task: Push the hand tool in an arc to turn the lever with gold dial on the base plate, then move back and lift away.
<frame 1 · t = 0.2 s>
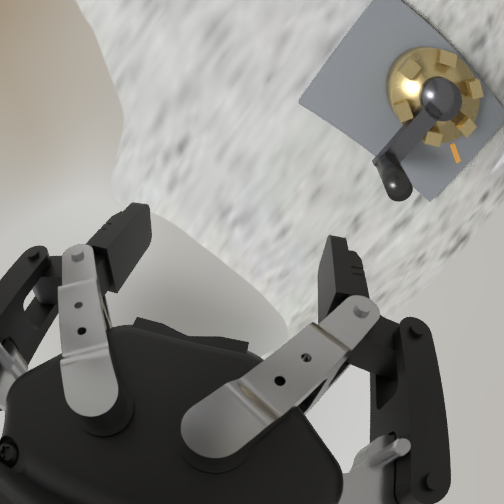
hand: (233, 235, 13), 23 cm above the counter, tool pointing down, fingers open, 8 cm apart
base plate: (413, 100, 26), on the counter
lever with gold dial: (430, 121, 22), point 6 cm above the counter, hinge at 0.0°
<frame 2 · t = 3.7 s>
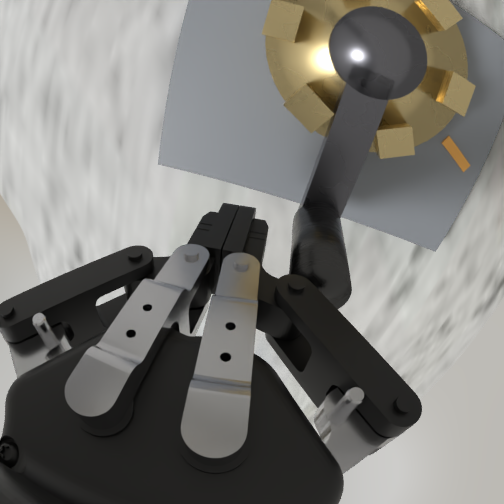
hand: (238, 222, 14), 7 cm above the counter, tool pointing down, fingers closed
base plate: (349, 83, 15), on the counter
lever with gold dial: (366, 106, 11), point 6 cm above the counter, hinge at 0.2°, touching gripper
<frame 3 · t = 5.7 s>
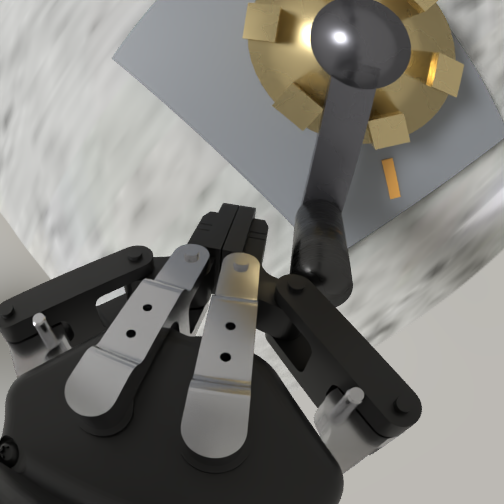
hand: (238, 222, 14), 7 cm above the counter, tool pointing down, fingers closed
base plate: (321, 66, 15), on the counter
lever with gold dial: (353, 97, 11), point 6 cm above the counter, hinge at 36.9°, touching gripper
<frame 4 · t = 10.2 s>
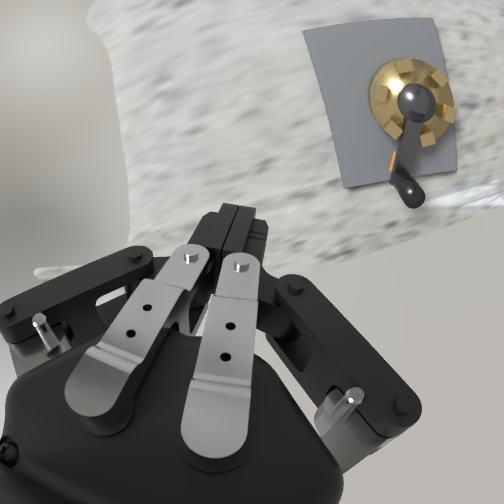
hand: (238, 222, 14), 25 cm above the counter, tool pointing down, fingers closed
base plate: (388, 99, 30), on the counter
lever with gold dial: (416, 127, 26), point 6 cm above the counter, hinge at 68.4°
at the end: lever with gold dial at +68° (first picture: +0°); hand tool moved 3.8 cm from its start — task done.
